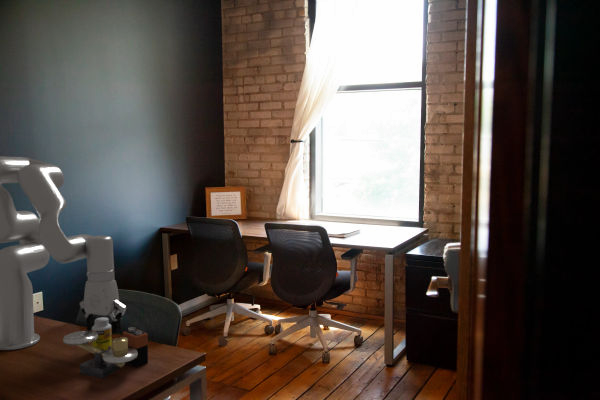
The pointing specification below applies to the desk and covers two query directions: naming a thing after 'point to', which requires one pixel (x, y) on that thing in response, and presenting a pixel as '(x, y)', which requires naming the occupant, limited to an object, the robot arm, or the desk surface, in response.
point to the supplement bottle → (102, 334)
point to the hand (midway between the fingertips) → (103, 331)
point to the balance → (98, 355)
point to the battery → (137, 346)
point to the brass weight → (120, 346)
